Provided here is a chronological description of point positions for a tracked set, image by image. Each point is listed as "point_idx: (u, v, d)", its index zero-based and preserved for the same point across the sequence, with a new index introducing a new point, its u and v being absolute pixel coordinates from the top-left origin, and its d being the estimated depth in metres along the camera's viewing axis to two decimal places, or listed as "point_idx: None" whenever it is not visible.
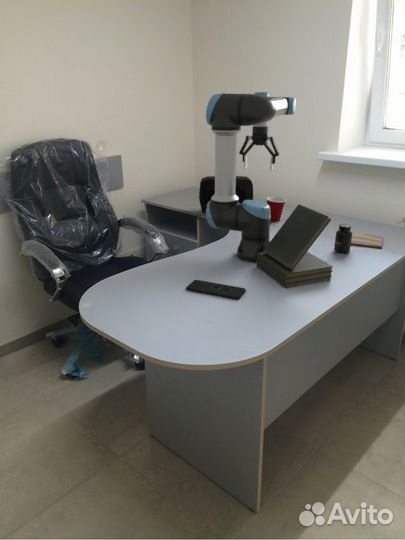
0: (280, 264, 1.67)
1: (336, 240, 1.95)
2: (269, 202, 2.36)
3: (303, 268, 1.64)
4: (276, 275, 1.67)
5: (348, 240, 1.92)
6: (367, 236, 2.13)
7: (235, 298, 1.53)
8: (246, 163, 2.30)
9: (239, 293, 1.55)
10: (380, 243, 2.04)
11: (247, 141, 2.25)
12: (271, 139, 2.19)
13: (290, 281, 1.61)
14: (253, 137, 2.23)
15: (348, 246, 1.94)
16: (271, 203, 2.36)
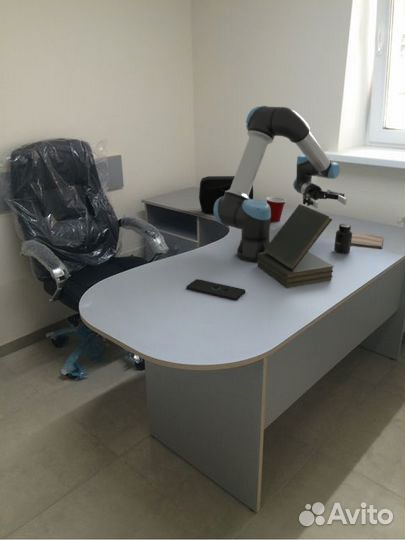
0: (281, 264, 1.68)
1: (336, 240, 1.95)
2: (269, 202, 2.36)
3: (304, 268, 1.64)
4: (277, 275, 1.67)
5: (348, 240, 1.92)
6: (367, 236, 2.13)
7: (233, 299, 1.53)
8: None
9: (238, 294, 1.55)
10: (380, 243, 2.04)
11: (306, 195, 2.11)
12: (329, 190, 2.14)
13: (291, 281, 1.62)
14: (310, 192, 2.13)
15: (348, 246, 1.94)
16: (271, 203, 2.36)
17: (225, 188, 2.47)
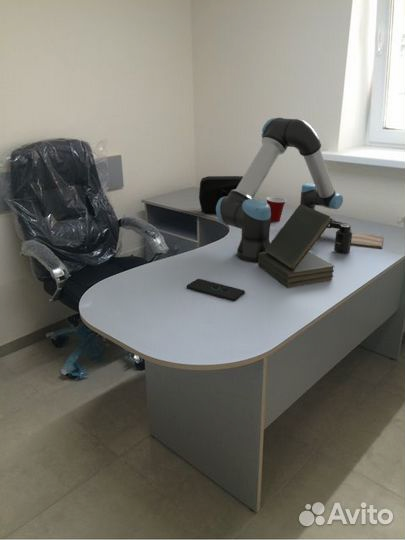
0: (282, 264, 1.68)
1: (336, 240, 1.95)
2: (269, 202, 2.36)
3: (305, 268, 1.64)
4: (278, 275, 1.67)
5: (348, 240, 1.92)
6: (367, 236, 2.13)
7: (231, 299, 1.52)
8: None
9: (236, 295, 1.54)
10: (380, 243, 2.04)
11: None
12: (333, 220, 2.16)
13: (291, 281, 1.62)
14: None
15: (348, 246, 1.94)
16: (271, 203, 2.36)
17: (225, 188, 2.47)
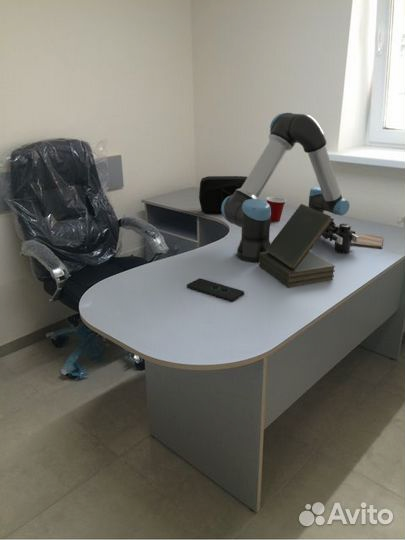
0: (282, 264, 1.68)
1: None
2: (269, 202, 2.36)
3: (306, 267, 1.64)
4: (278, 275, 1.67)
5: (348, 240, 1.92)
6: (367, 236, 2.13)
7: (229, 300, 1.52)
8: None
9: (235, 295, 1.54)
10: (380, 243, 2.04)
11: None
12: None
13: (292, 281, 1.62)
14: None
15: (348, 246, 1.94)
16: (271, 203, 2.36)
17: (225, 188, 2.47)
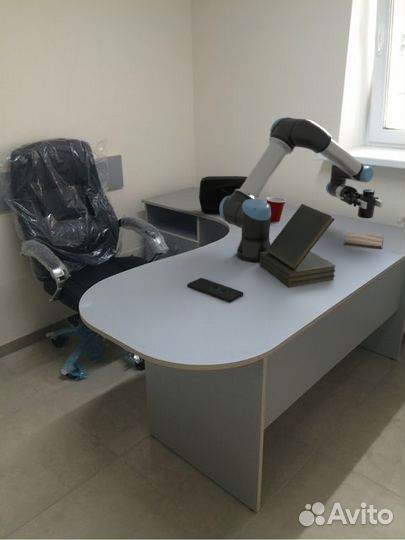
0: (283, 263, 1.68)
1: None
2: (269, 202, 2.36)
3: (306, 267, 1.64)
4: (279, 274, 1.67)
5: (372, 205, 1.98)
6: (367, 236, 2.13)
7: (227, 300, 1.52)
8: None
9: (233, 296, 1.53)
10: (380, 243, 2.04)
11: None
12: None
13: (293, 280, 1.62)
14: (347, 194, 2.11)
15: (372, 211, 1.99)
16: (271, 203, 2.36)
17: (225, 188, 2.47)
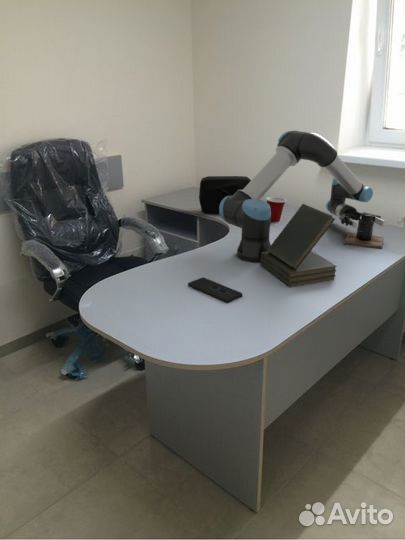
0: (284, 263, 1.68)
1: (359, 228, 2.07)
2: (269, 202, 2.36)
3: (307, 267, 1.64)
4: (280, 274, 1.67)
5: (370, 228, 2.04)
6: None
7: (224, 301, 1.51)
8: None
9: (231, 297, 1.53)
10: (380, 243, 2.04)
11: (343, 215, 2.14)
12: (365, 212, 2.18)
13: (294, 280, 1.62)
14: (347, 213, 2.17)
15: (370, 234, 2.06)
16: (271, 203, 2.36)
17: (225, 188, 2.47)
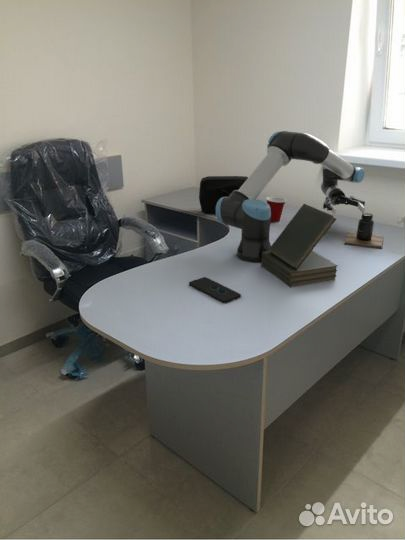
0: (285, 263, 1.68)
1: (359, 228, 2.07)
2: (269, 202, 2.36)
3: (308, 267, 1.65)
4: (281, 274, 1.68)
5: (370, 228, 2.04)
6: None
7: (222, 301, 1.51)
8: None
9: (229, 297, 1.52)
10: (380, 243, 2.04)
11: (328, 199, 2.23)
12: (352, 196, 2.24)
13: (295, 280, 1.62)
14: (333, 197, 2.25)
15: (370, 234, 2.06)
16: (271, 203, 2.36)
17: (225, 188, 2.47)
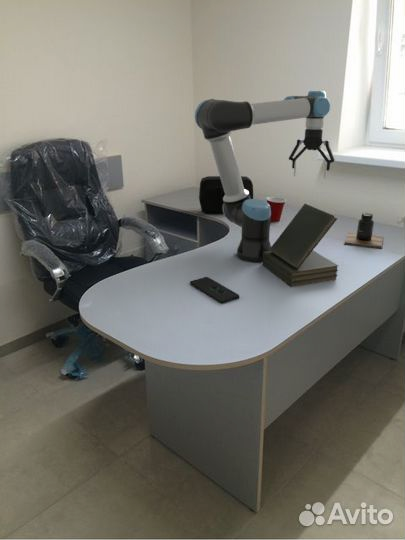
0: (286, 263, 1.68)
1: (358, 228, 2.07)
2: (269, 202, 2.36)
3: (309, 267, 1.65)
4: (282, 274, 1.68)
5: (370, 228, 2.04)
6: None
7: (219, 301, 1.51)
8: (296, 170, 2.07)
9: (227, 298, 1.52)
10: (380, 243, 2.04)
11: (298, 145, 2.02)
12: (326, 143, 1.97)
13: (295, 280, 1.62)
14: (305, 141, 2.00)
15: (370, 234, 2.06)
16: (271, 203, 2.36)
17: None
